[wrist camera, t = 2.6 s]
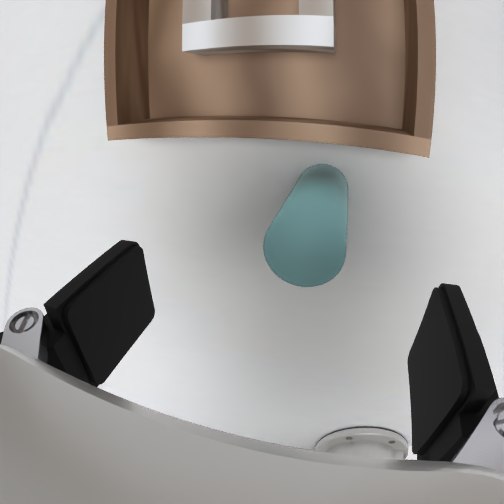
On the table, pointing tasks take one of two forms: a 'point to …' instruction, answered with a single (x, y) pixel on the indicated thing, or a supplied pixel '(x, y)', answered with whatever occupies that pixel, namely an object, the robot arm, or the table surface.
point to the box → (273, 70)
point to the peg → (310, 229)
